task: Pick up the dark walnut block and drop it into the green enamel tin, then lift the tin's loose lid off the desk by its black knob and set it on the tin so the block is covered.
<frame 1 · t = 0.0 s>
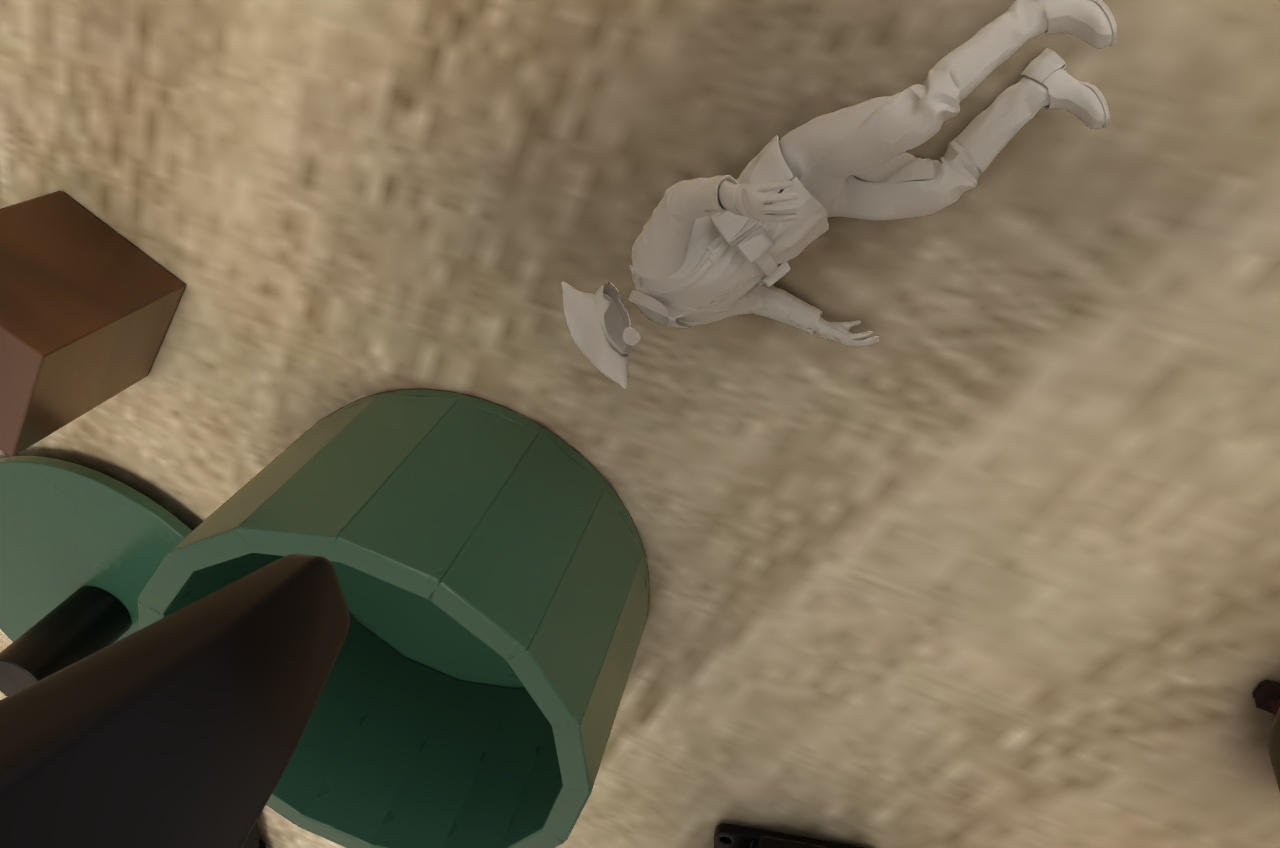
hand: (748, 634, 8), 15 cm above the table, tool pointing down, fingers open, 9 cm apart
block: (106, 288, 27), on the table
tin: (465, 555, 29), on the table
lid: (113, 600, 34), point 1 cm above the table
soldier figure: (820, 183, 20), on the table
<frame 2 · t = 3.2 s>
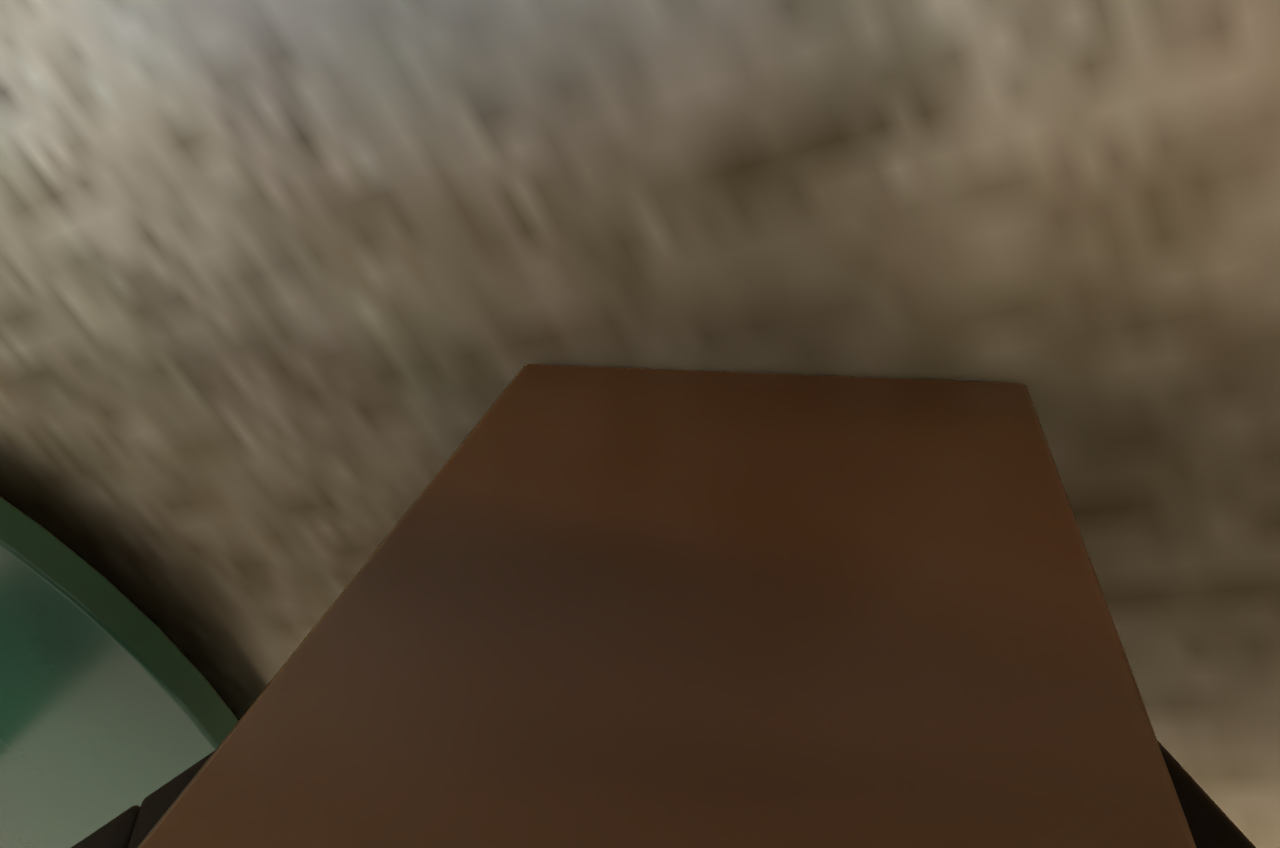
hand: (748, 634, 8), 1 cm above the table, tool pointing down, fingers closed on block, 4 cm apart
block: (757, 564, 9), on the table, touching gripper
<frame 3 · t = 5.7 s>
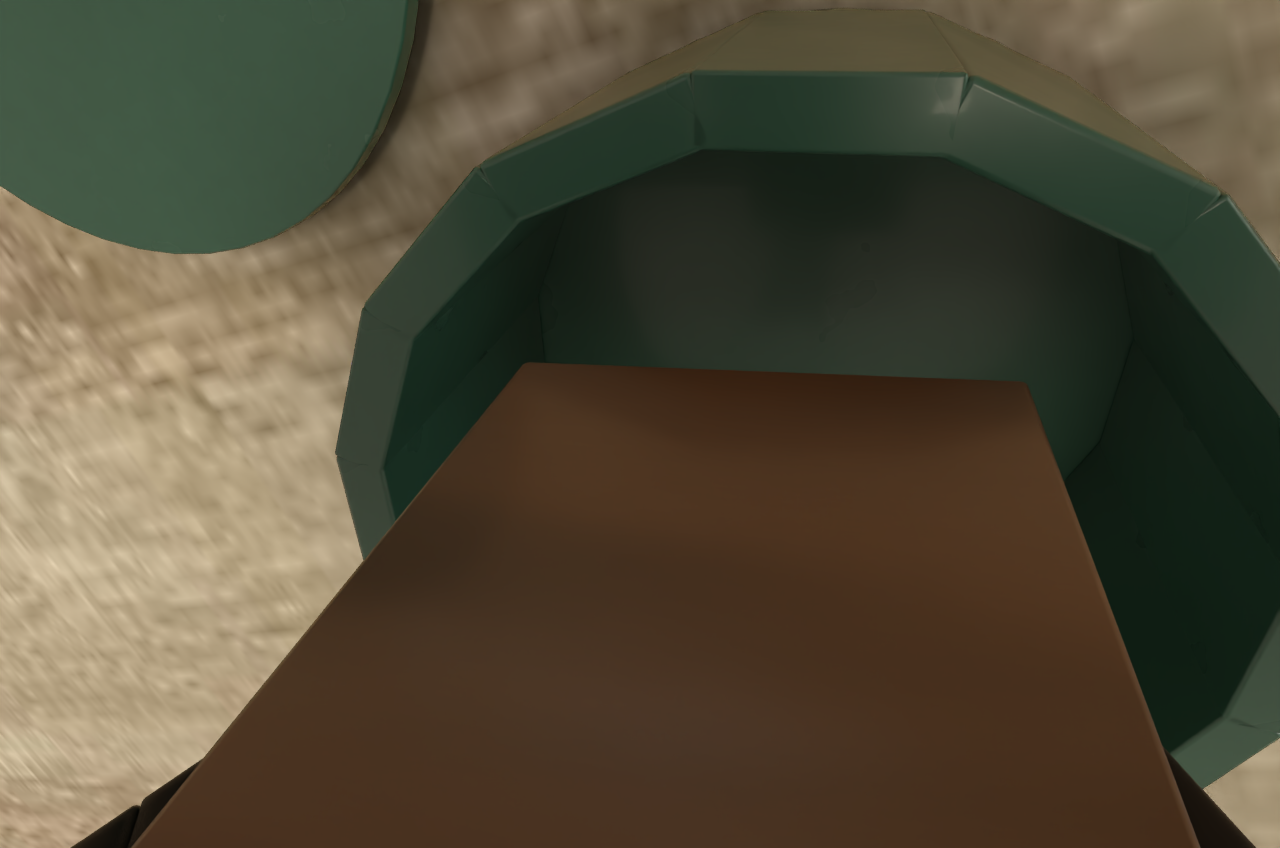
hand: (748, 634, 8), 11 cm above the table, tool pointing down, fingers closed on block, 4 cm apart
block: (757, 563, 9), point 10 cm above the table, touching gripper
tin: (809, 355, 18), on the table
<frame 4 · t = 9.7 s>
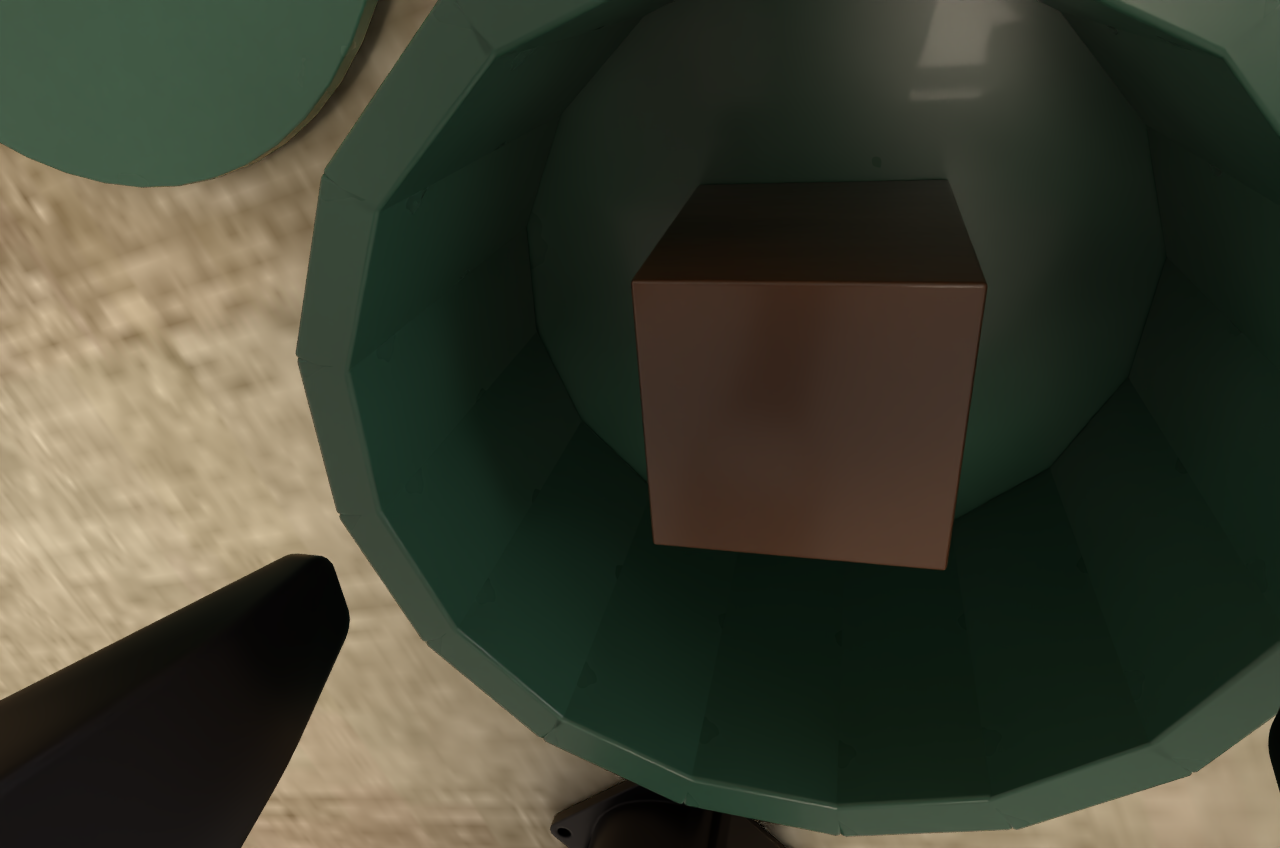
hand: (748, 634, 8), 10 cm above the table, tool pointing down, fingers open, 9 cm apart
block: (814, 298, 16), point 1 cm above the table, touching tin
tin: (816, 288, 17), on the table
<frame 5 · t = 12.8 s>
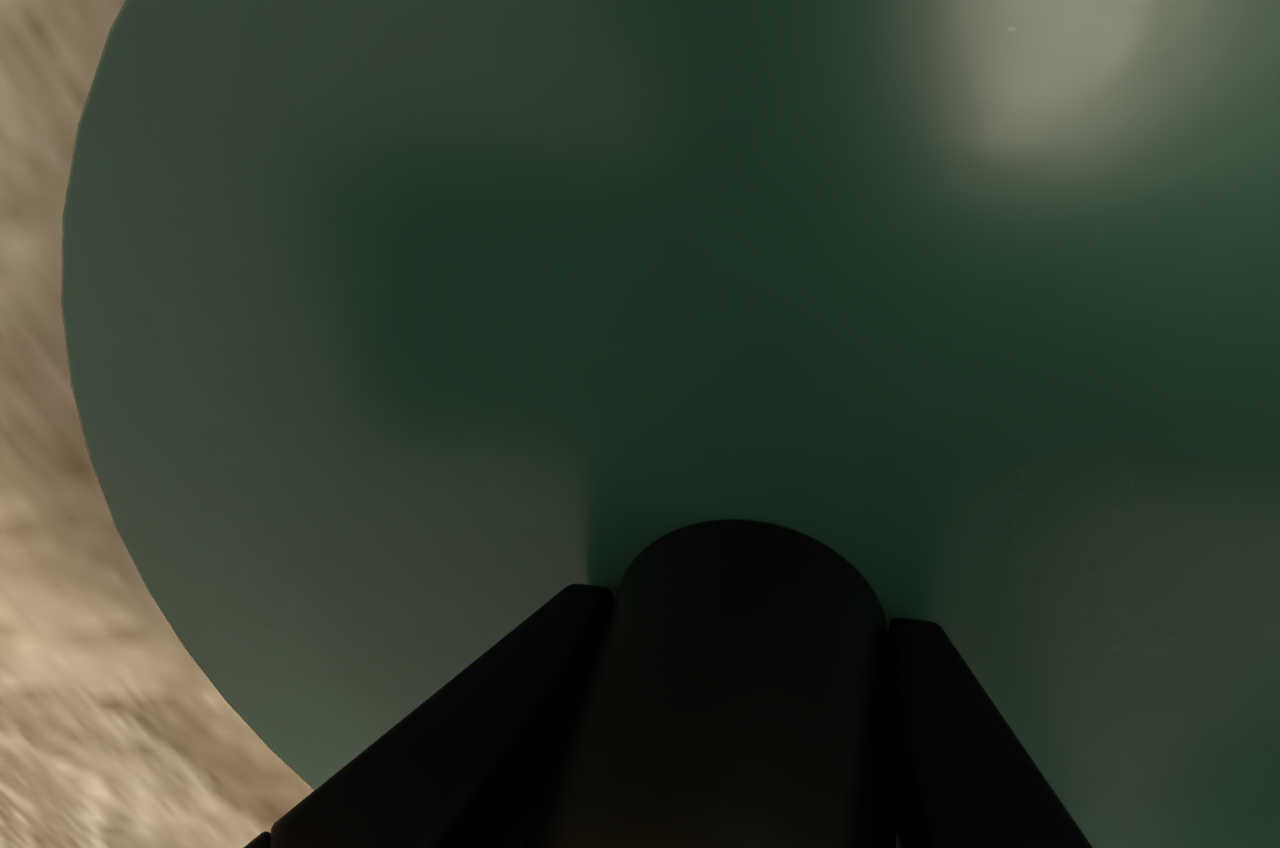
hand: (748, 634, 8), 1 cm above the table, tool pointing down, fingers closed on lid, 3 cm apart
lid: (754, 589, 8), point 1 cm above the table, touching gripper
when the fingers open (8 cm above the table, at t = 17.0 s): lid stays where it is, resting on tin.
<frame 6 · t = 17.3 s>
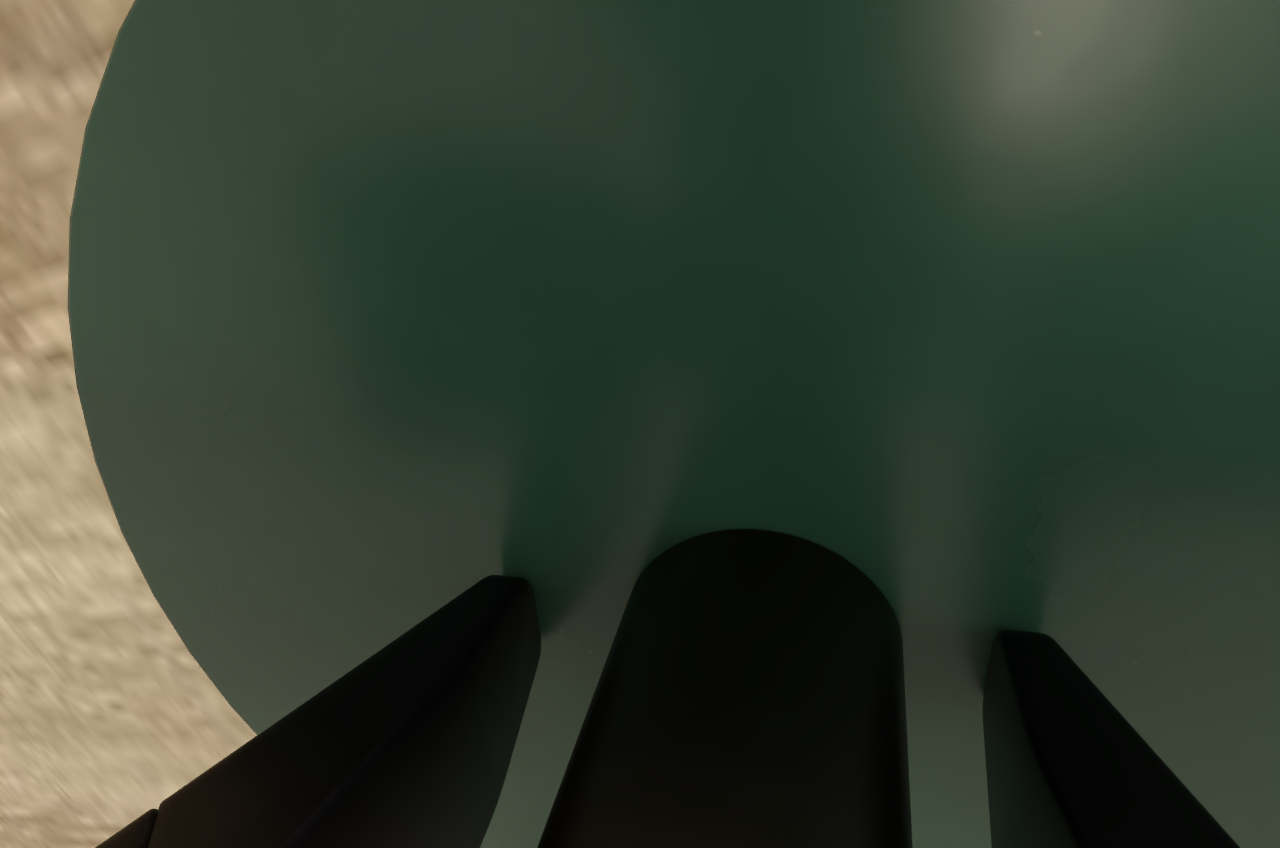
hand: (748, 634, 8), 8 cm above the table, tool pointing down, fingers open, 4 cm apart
lid: (765, 599, 8), point 7 cm above the table, touching gripper, tin
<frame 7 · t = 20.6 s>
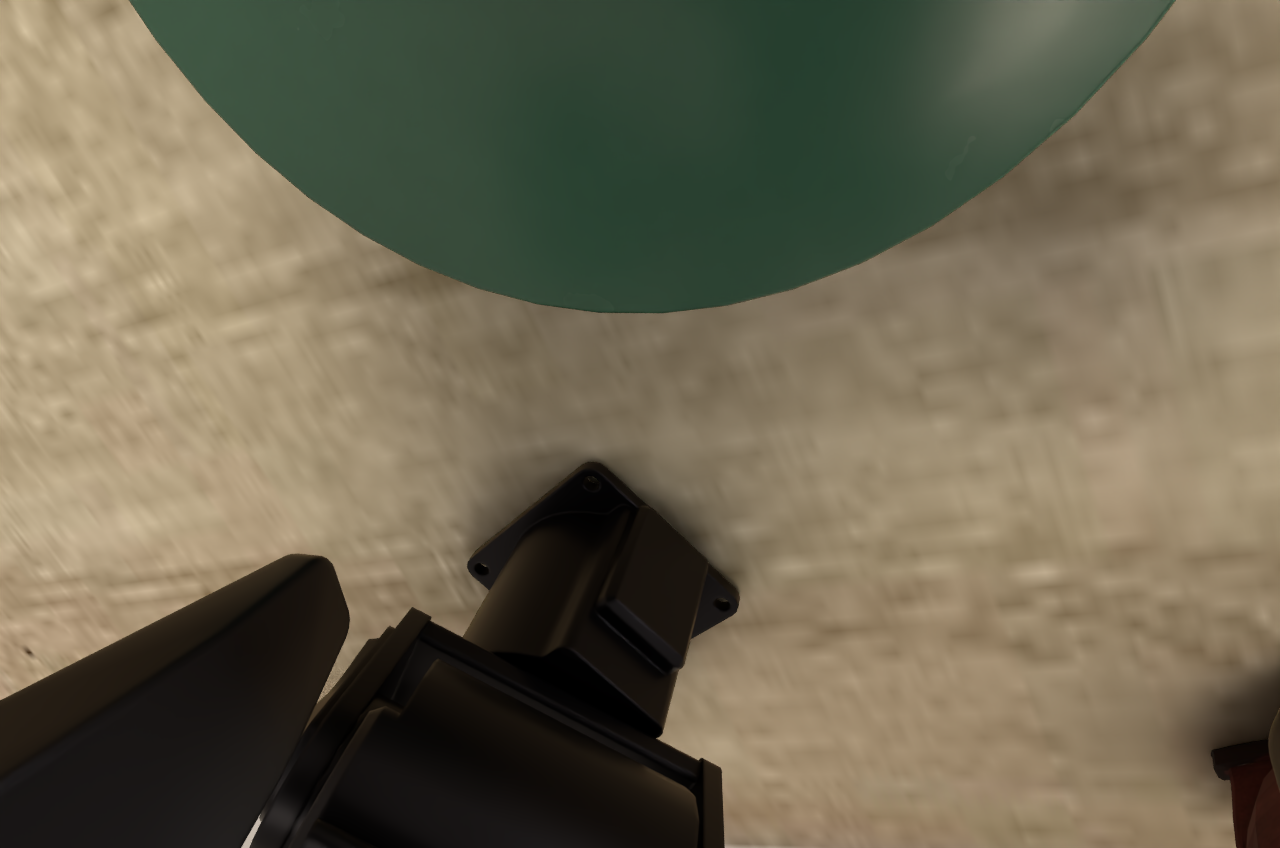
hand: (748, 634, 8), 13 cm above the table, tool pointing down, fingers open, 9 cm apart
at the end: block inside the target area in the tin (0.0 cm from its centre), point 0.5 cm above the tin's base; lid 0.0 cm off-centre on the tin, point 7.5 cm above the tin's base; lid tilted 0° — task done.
